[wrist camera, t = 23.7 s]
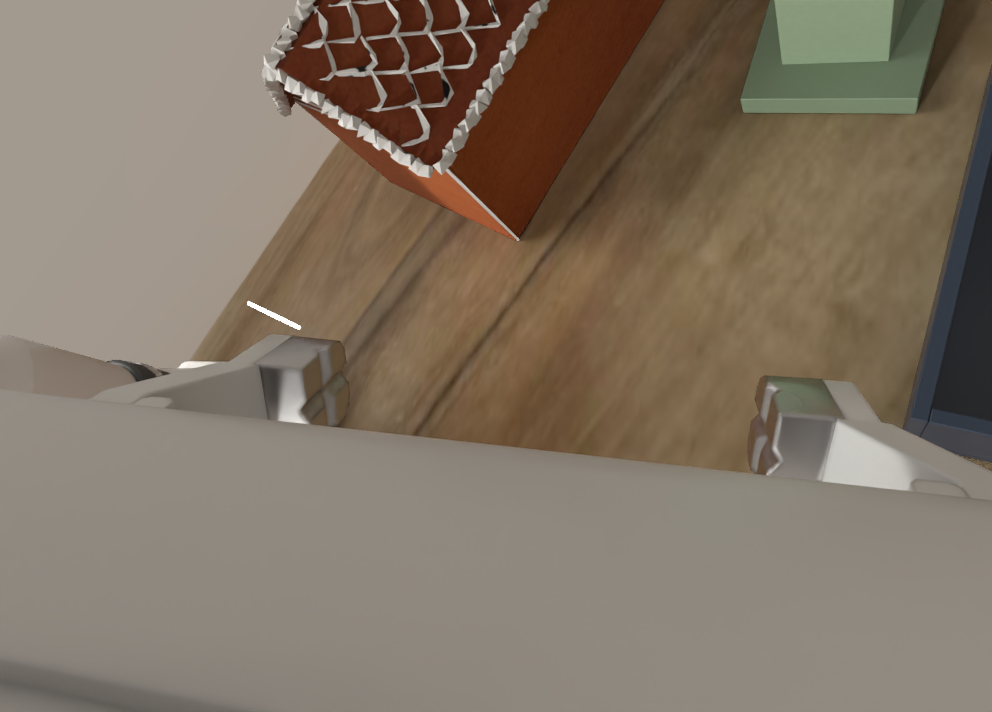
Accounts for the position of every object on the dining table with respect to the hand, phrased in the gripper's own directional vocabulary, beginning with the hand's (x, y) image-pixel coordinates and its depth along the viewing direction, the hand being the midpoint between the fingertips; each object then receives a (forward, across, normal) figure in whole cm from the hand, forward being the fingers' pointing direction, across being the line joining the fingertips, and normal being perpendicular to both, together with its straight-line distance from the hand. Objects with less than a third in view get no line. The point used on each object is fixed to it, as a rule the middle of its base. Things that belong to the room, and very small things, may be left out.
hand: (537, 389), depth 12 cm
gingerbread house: (+45, +8, -4) cm, 46 cm away
